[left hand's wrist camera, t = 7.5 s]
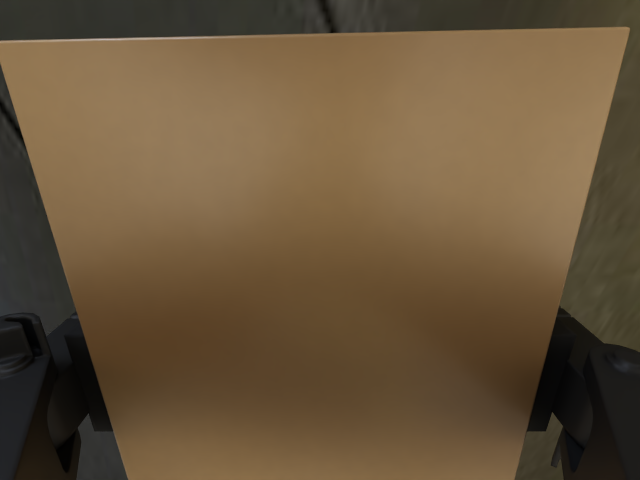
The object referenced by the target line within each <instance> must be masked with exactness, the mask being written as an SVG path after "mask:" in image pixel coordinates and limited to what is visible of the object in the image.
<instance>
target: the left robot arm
mask: <svg viewBox="0 0 640 480" xmlns="http://www.w3.org/2000/svg"><path fill="white" fill-rule="evenodd" d="M552 412H553V413H554V415H555V416H556V417H557V419H558V420H559V421H560V423H561V424H562V425H563V428H562V431H561V434H560V437H559V440H558V442H557V445H556V448H555V451H554V454H553V457H552V462H551V466H554V467H557V465H558V462H559V460H560V459H561V461H562V469H563V476H564V480H640V352H638V351H635V350H633V349H629V348H626V347H623V346H620V345H613V344H604V343H603V342H602V341H600V340H599V339H598V338H597V337H596V336H595V335H593V334H592V333H591V332H590V331H589V330H587V329H586V328H585V327H584V326H583V325H582V324H580V323H579V322H578V321H577V320H576V319H575V318H573V317H571V315H570V314H569V313H568V312H566V311H565V310H564V309H561V308H560V306H559V308H558V312H557V316H556V320H555V324H554V327H553V331H552V335H551V339H550V343H549V347H548V351H547V355H546V358H545V362H544V366H543V370H542V374H541V378H540V382H539V386H538V390H537V393H536V397H535V401H534V405H533V409H532V413H531V417H530V421H529V424H528V428H527V431H546V429H547V426H548V423H549V420H550V417H551V414H552ZM88 413H89V416H90V419H91V422H92V425H93V428H94V431H113V428H112V425H111V422H110V418H109V415H108V412H107V409H106V405H105V402H104V399H103V396H102V392H101V389H100V386H99V383H98V379H97V376H96V373H95V369H94V366H93V363H92V360H91V356H90V353H89V350H88V347H87V343H86V340H85V337H84V334H83V330H82V327H81V324H80V321H79V317H78V314H77V311H76V312H75V313H74V314H72V315H71V316H70V319H67V320H66V321H64V322H63V323H62V324H61V325H60V326H59V327H57V328H56V329H55V330H54V331H53V332H52V333H50V334H49V335H48V336H47V337H46V335H45V332H44V329H43V326H42V323H41V320H40V318H39V316H37V315H35V314H33V313H16V314H9V315H5V316H1V317H0V480H76V477H77V470H78V462H79V455H80V447H81V438H80V434H79V431H78V426H79V425H80V424H81V422H82V421H83V420H84V418H85V417H86V416H87V414H88Z"/></svg>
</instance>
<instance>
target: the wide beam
mask: <svg viewBox="0 0 640 480" xmlns="http://www.w3.org/2000/svg"><path fill="white" fill-rule="evenodd" d="M629 32H630V28H628V27H593V28H548V29H502V30H457V31H412V32H367V33H322V34H276V35H231V36H186V37H141V38H96V39H51V40H5V41H0V64H1V67H2V70H3V73H4V77H5V80H6V83H7V86H8V90H9V93H10V96H11V99H12V103H13V106H14V109H15V112H16V116H17V119H18V122H19V125H20V129H21V132H22V135H23V138H24V142H25V145H26V148H27V151H28V155H29V158H30V161H31V164H32V168H33V171H34V174H35V177H36V181H37V184H38V187H39V191H40V194H41V197H42V200H43V204H44V207H45V210H46V213H47V217H48V220H49V223H50V226H51V230H52V233H53V236H54V239H55V243H56V246H57V249H58V252H59V256H60V259H61V262H62V265H63V269H64V272H65V275H66V278H67V282H68V285H69V288H70V291H71V295H72V298H73V301H74V304H75V308H76V311H77V314H78V317H79V321H80V324H81V327H82V330H83V334H84V337H85V340H86V343H87V347H88V350H89V353H90V356H91V360H92V363H93V366H94V369H95V373H96V376H97V379H98V383H99V386H100V389H101V392H102V396H103V399H104V402H105V405H106V409H107V412H108V415H109V418H110V422H111V425H112V428H113V431H114V435H115V438H116V441H117V444H118V448H119V451H120V454H121V457H122V461H123V464H124V467H125V470H126V474H127V477H128V480H514V479H515V475H516V471H517V467H518V463H519V459H520V455H521V452H522V448H523V444H524V440H525V436H526V432H527V428H528V424H529V421H530V417H531V413H532V409H533V405H534V401H535V397H536V393H537V390H538V386H539V382H540V378H541V374H542V370H543V366H544V362H545V358H546V355H547V351H548V347H549V343H550V339H551V335H552V331H553V327H554V324H555V320H556V316H557V312H558V308H559V304H560V300H561V296H562V292H563V289H564V285H565V281H566V277H567V273H568V269H569V265H570V261H571V258H572V254H573V250H574V246H575V242H576V238H577V234H578V230H579V226H580V223H581V219H582V215H583V211H584V207H585V203H586V199H587V195H588V192H589V188H590V184H591V180H592V176H593V172H594V168H595V164H596V160H597V157H598V153H599V149H600V145H601V141H602V137H603V133H604V129H605V126H606V122H607V118H608V114H609V110H610V106H611V102H612V98H613V95H614V91H615V87H616V83H617V79H618V75H619V71H620V67H621V63H622V60H623V56H624V52H625V48H626V44H627V40H628V36H629Z"/></svg>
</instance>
